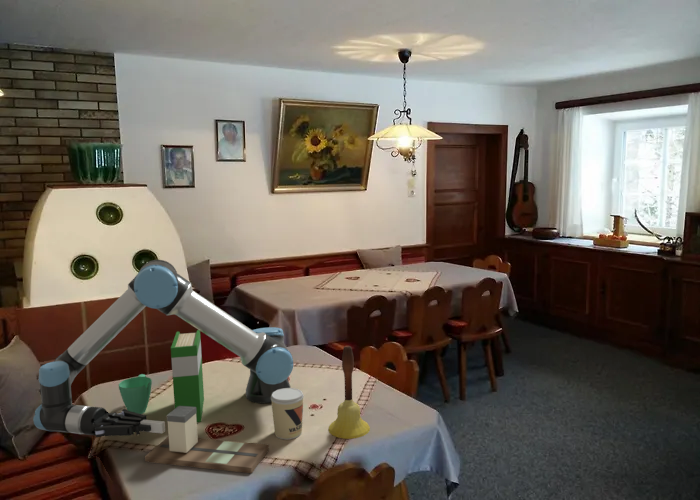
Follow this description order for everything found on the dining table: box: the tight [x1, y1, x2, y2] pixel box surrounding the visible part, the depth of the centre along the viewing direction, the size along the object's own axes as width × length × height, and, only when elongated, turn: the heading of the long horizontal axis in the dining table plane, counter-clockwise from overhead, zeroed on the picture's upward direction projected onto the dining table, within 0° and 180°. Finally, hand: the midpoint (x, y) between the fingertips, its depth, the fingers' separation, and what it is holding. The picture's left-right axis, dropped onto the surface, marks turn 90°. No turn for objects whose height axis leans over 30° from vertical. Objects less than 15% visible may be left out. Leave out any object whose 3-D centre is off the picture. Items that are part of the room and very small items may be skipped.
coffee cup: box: [271, 387, 305, 440], centre depth 157 cm, size 9×9×12 cm
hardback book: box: [170, 329, 205, 423], centre depth 172 cm, size 18×7×24 cm, turn 12°
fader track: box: [144, 435, 270, 474], centre depth 145 cm, size 30×12×2 cm, turn 77°
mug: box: [118, 373, 153, 415], centre depth 175 cm, size 15×10×10 cm
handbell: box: [327, 345, 371, 440], centre depth 158 cm, size 12×12×25 cm
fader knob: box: [166, 406, 199, 453], centre depth 146 cm, size 5×6×10 cm
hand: (163, 427), depth 147 cm, fingers closed
